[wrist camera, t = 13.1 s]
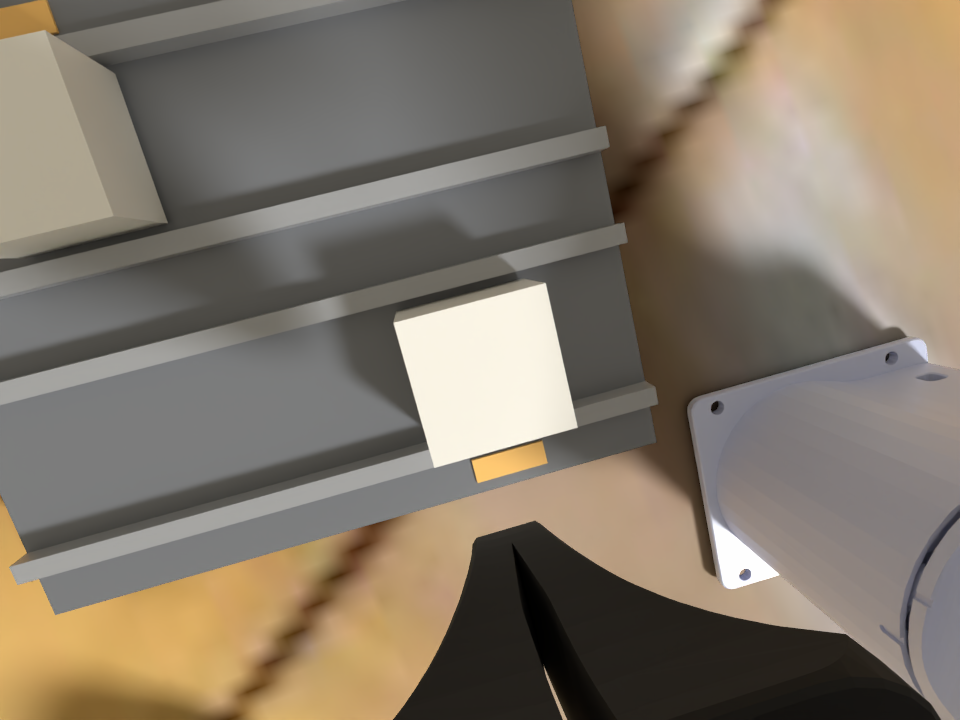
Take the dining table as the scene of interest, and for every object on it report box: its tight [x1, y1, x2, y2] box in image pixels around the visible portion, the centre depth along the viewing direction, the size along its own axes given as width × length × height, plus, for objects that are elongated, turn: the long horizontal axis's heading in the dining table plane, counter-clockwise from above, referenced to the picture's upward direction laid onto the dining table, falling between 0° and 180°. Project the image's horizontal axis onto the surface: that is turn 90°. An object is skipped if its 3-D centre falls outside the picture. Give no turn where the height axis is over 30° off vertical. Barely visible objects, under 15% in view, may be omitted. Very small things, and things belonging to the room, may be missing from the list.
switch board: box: [0, 0, 658, 615], centre depth 17 cm, size 20×17×3 cm
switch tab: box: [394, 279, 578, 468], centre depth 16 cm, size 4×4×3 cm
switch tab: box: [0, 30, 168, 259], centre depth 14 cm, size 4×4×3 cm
